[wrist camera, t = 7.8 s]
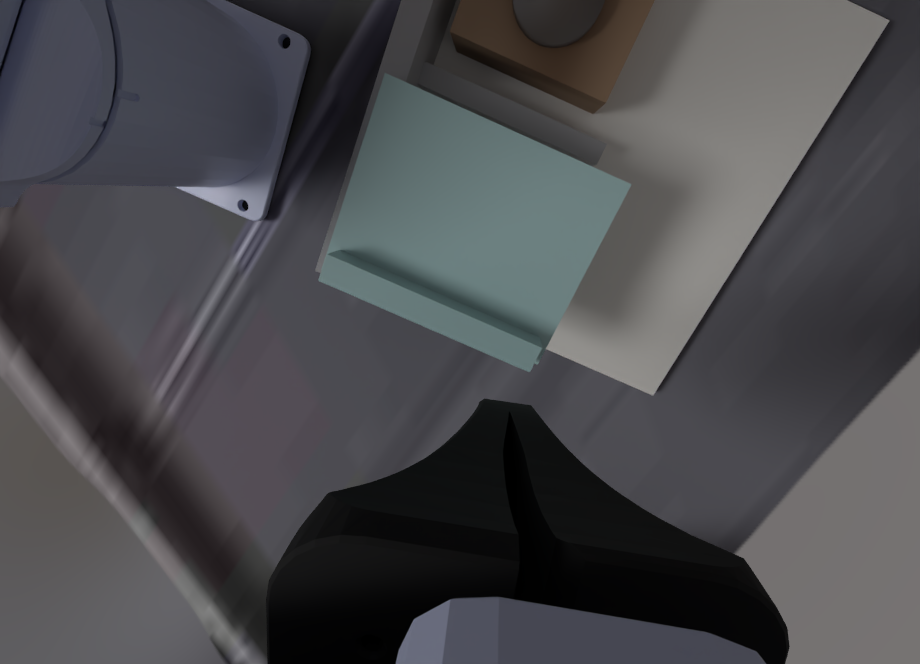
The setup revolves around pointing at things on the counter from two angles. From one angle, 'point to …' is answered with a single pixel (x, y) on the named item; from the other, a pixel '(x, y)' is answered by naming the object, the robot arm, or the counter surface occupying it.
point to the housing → (661, 150)
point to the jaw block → (553, 42)
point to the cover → (467, 225)
